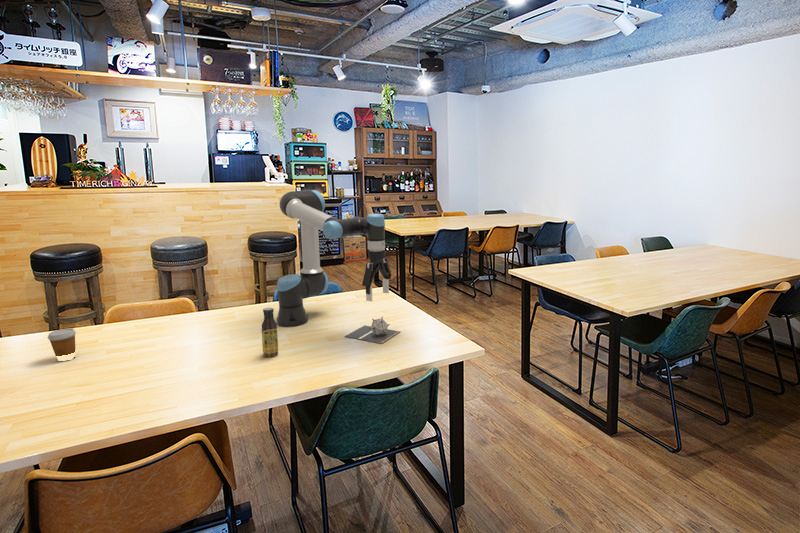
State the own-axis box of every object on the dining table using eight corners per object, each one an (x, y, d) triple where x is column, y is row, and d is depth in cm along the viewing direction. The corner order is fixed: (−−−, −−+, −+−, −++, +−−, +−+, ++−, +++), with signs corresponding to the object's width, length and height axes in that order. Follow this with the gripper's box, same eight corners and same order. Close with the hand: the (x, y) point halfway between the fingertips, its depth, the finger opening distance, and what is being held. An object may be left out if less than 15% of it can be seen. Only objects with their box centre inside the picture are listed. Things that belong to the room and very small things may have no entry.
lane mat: (344, 337, 206) (344, 336, 206) (364, 326, 219) (364, 325, 219) (382, 344, 196) (382, 343, 196) (400, 332, 210) (400, 331, 209)
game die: (383, 343, 205) (389, 331, 198) (365, 338, 205) (370, 324, 198) (387, 328, 212) (393, 315, 205) (369, 323, 211) (375, 309, 204)
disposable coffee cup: (85, 355, 194) (80, 329, 192) (63, 364, 185) (57, 336, 183) (69, 353, 197) (64, 327, 195) (47, 362, 188) (41, 334, 186)
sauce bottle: (264, 359, 184) (260, 312, 180) (261, 353, 190) (257, 308, 186) (281, 355, 187) (276, 309, 183) (277, 350, 193) (273, 305, 189)
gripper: (367, 255, 185) (369, 305, 190) (398, 245, 206) (399, 290, 211) (352, 254, 189) (354, 303, 194) (384, 244, 210) (385, 288, 215)
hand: (377, 296), depth 202 cm, fingers open, 13 cm apart
